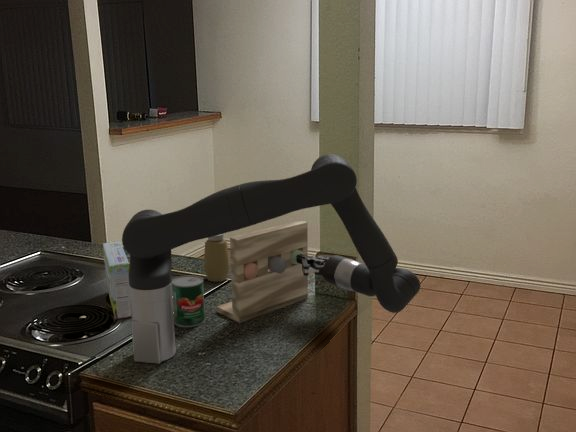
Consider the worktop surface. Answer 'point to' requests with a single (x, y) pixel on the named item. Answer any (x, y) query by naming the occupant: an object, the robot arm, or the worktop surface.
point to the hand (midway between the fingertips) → (298, 258)
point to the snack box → (117, 279)
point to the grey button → (277, 264)
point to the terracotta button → (250, 270)
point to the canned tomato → (188, 301)
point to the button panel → (266, 271)
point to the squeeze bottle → (216, 258)
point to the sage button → (293, 256)
